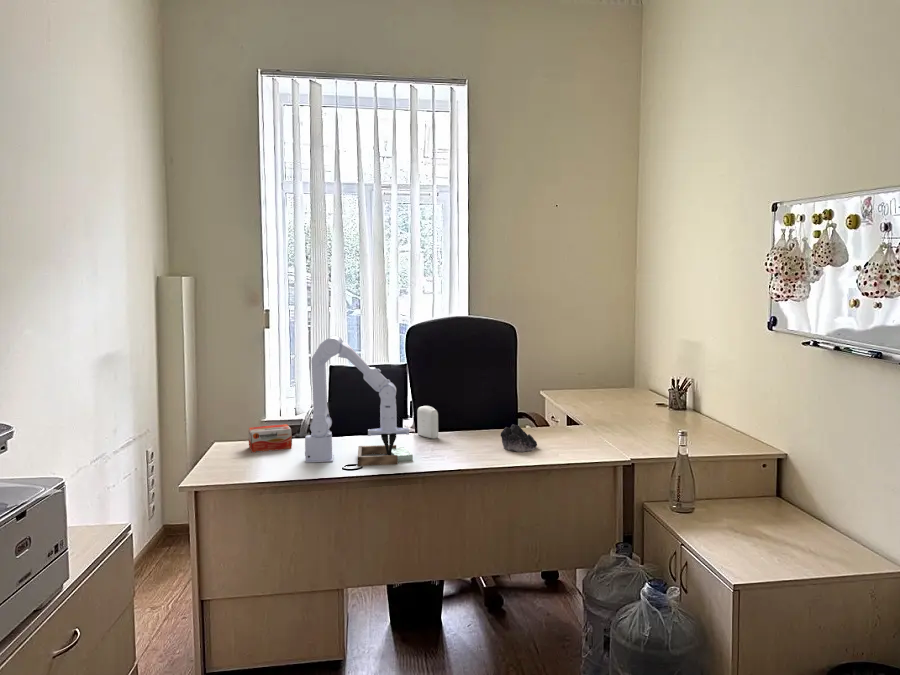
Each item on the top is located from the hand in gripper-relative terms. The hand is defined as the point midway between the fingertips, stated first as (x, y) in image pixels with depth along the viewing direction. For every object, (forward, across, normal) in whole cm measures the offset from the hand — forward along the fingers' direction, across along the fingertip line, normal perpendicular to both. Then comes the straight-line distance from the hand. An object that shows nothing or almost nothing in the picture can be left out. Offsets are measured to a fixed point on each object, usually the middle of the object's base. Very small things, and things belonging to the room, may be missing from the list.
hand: (389, 454), depth 249 cm
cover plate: (+2, +4, +1) cm, 4 cm away
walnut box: (+1, -4, 0) cm, 4 cm away
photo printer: (+2, +16, +32) cm, 36 cm away
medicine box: (+2, -44, +21) cm, 49 cm away
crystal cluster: (+2, +49, +9) cm, 50 cm away
